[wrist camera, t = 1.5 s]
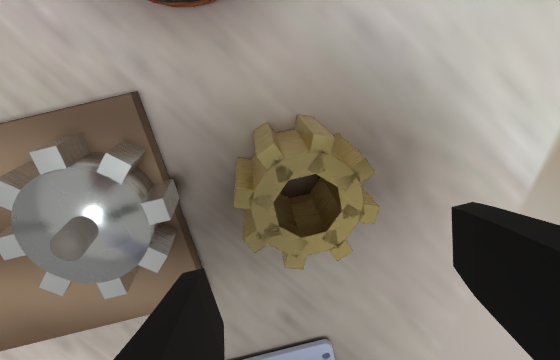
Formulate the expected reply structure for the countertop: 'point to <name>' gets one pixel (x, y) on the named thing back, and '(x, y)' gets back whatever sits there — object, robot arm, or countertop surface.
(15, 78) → the countertop surface
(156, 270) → the gear
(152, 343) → the robot arm
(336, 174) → the brass gear
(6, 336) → the gear board
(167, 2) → the canned food
